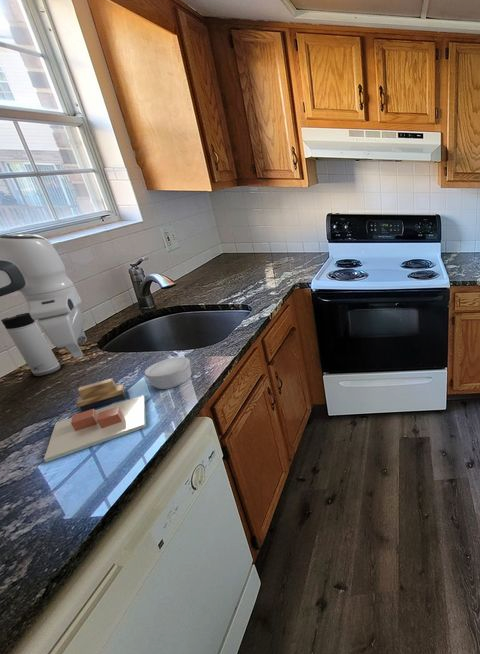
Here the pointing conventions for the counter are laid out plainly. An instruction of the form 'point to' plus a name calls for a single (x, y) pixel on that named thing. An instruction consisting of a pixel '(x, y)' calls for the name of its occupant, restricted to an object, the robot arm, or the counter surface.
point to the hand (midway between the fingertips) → (81, 349)
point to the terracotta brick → (109, 417)
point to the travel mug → (31, 344)
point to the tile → (96, 430)
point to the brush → (99, 394)
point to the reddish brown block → (84, 419)
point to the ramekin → (169, 372)
